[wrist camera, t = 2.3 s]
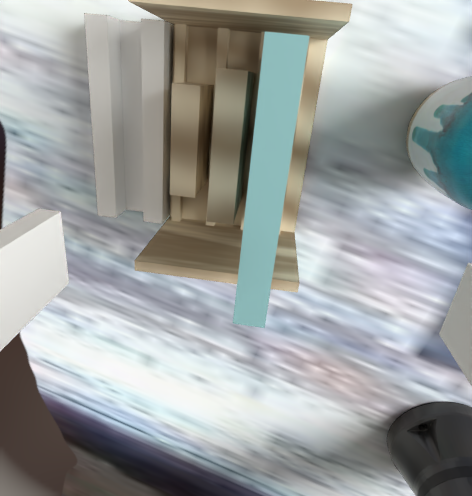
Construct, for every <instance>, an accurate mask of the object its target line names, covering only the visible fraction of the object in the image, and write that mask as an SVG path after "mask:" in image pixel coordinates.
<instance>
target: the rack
mask: <svg viewBox="0 0 472 496" xmlns="http://www.w3.org/2000/svg"><path fill="white" fill-rule="evenodd" d="M128 1H129V2H131V3H133V4H135V5H137V6H139V7H140V8H142V9H144V10H146V11H148V12H150V13H152V14H154V15H156V16H158V17H160V18H162V19H164V20H165V21H167V22H169V23H171V24H173V25H174V26H173V78H172V83H185V82H191V83H200V84H210V85H213V101H212V117H211V133H210V149H209V165H208V180H207V182H206V183H205V185H204V186H203V187H202V189H201V190H200V192H199V193H198V194H197V196H196V197H195V198H192V197H183V196H175V195H170V217H169V218H168V220H167V221H166V222H165V223H164V225H163V226H162V227H161V228H160V230H159V231H158V232H157V233H156V235H155V236H154V237H153V238H152V240H151V241H150V242H149V243H148V245H147V246H146V247H145V248H144V250H143V251H142V252H141V253H140V255H139V256H138V257H137V258H136V260H135V270H136V271H143V272H151V273H158V274H166V275H173V276H180V277H188V278H195V279H203V280H210V281H217V282H225V283H232V284H237V281H238V272H239V263H240V254H241V245H242V236H243V226H244V217H245V208H246V199H247V190H248V181H249V172H250V162H251V153H252V144H253V135H254V126H255V117H256V108H257V99H258V89H259V80H260V71H261V62H262V53H263V44H264V35H265V32H276V33H286V34H297V35H307V36H309V42H308V49H307V55H306V62H305V68H304V75H303V81H302V88H301V94H300V101H299V107H298V114H297V120H296V127H295V133H294V140H293V146H292V153H291V159H290V166H289V172H288V179H287V185H286V192H285V198H284V205H283V211H282V218H281V224H280V231H279V237H278V244H277V250H276V256H275V263H274V269H273V276H272V282H271V289H276V290H284V291H291V292H298V287H299V275H298V264H297V254H296V244H295V234H294V231H295V226H296V220H297V214H298V208H299V202H300V197H301V191H302V185H303V179H304V173H305V168H306V162H307V156H308V150H309V145H310V139H311V133H312V127H313V121H314V116H315V110H316V104H317V98H318V92H319V87H320V81H321V75H322V69H323V63H324V58H325V52H326V46H327V40H328V39H329V38H330V37H331V36H332V35H334V34H335V33H336V32H337V31H339V30H340V29H341V28H342V27H343V26H345V25H346V24H347V23H348V22H349V19H350V14H351V9H352V4H348V3H336V2H325V1H314V0H128ZM216 68H224V69H234V70H244V71H250V72H253V73H255V76H254V85H253V95H252V104H251V114H250V124H249V133H248V143H247V153H246V162H245V172H244V182H243V191H242V198H241V202H240V205H239V208H238V211H237V214H236V217H235V220H234V224H233V225H230V224H222V223H214V222H207V208H208V192H209V177H210V161H211V146H212V130H213V114H214V99H215V83H216Z"/></svg>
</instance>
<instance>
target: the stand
mask: <svg viewBox="0 0 472 496" xmlns="http://www.w3.org/2000/svg"><path fill="white" fill-rule="evenodd" d="M84 17H85V32H86V47H87V62H88V77H89V92H90V107H91V122H92V137H93V151H94V166H95V181H96V196H97V211H98V216H105V217H113V218H117V217H118V216H119V215H120V214H122V213H123V212H124V211H125V210H133V211H141V212H143V221H144V222H152V223H160V224H162V223H163V222H164V221H165V220H166V219H167V217H168V216H169V215H170V151H171V98H172V78H173V25H171V24H170V23H168V22H166V21H161V20H150V19H141V22H134V21H124V20H118V19H116V18H113V17H110V16H108V15H98V14H88V13H84Z"/></svg>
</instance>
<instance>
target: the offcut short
mask: <svg viewBox="0 0 472 496" xmlns="http://www.w3.org/2000/svg"><path fill="white" fill-rule="evenodd" d="M212 101H213V85H210V84H200V83H191V82H185V83H172V98H171V151H170V195H175V196H183V197H192V198H195V197H196V196H197V194H198V193H199V192H200V190H201V189H202V187H203V186H204V185H205V183H206V182H207V180H208V165H209V149H210V133H211V117H212Z"/></svg>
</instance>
